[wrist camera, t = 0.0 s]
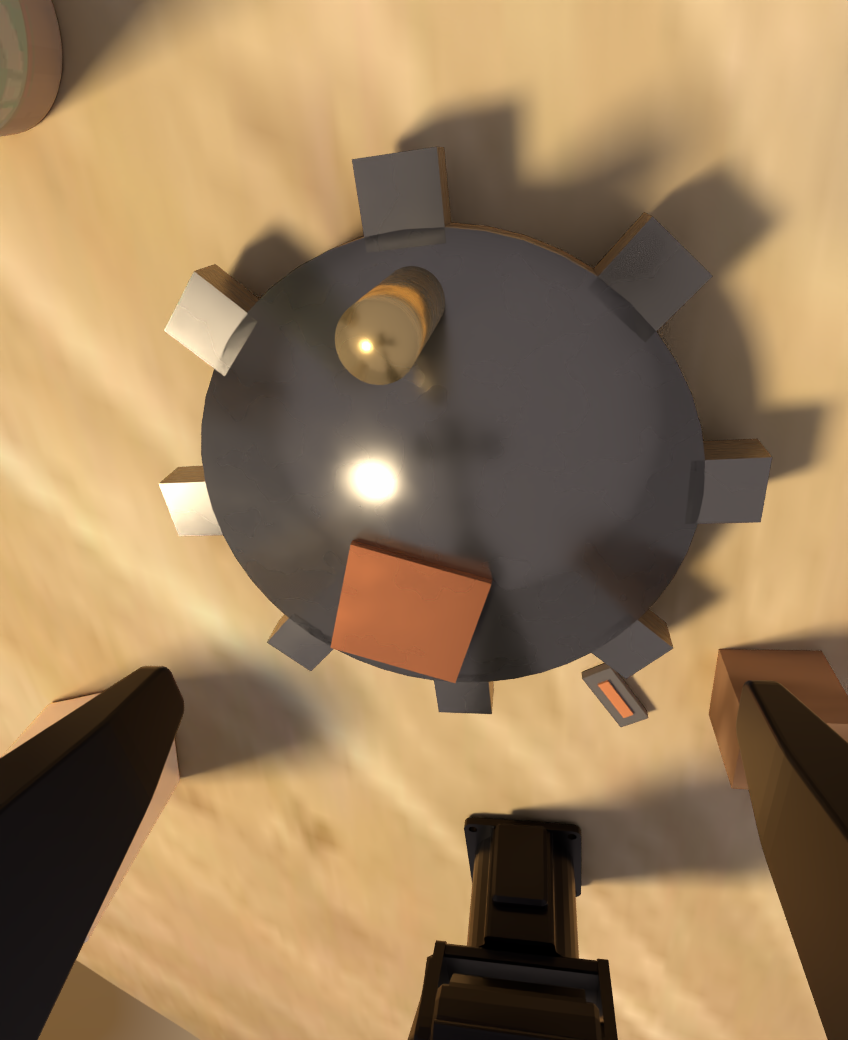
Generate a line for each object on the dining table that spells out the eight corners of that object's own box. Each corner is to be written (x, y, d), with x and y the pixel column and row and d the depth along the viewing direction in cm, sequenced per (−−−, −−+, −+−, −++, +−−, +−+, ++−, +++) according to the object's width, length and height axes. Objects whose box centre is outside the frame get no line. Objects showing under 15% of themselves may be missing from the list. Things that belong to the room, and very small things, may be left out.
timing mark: (647, 711, 29) (648, 719, 28) (619, 720, 29) (621, 728, 29) (609, 661, 27) (610, 669, 27) (581, 672, 28) (582, 680, 28)
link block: (802, 716, 27) (841, 797, 24) (708, 712, 28) (732, 791, 25) (820, 649, 25) (865, 727, 22) (718, 647, 26) (745, 722, 23)
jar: (134, 680, 34) (-41, 907, 23) (211, 775, 37) (88, 1009, 27) (21, 704, 36) (-180, 917, 26) (102, 791, 40) (-47, 1008, 30)
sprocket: (716, 695, 26) (763, 836, 21) (255, 682, 31) (193, 796, 25) (812, 92, 16) (962, 56, 10) (83, 201, 20) (-89, 218, 14)
